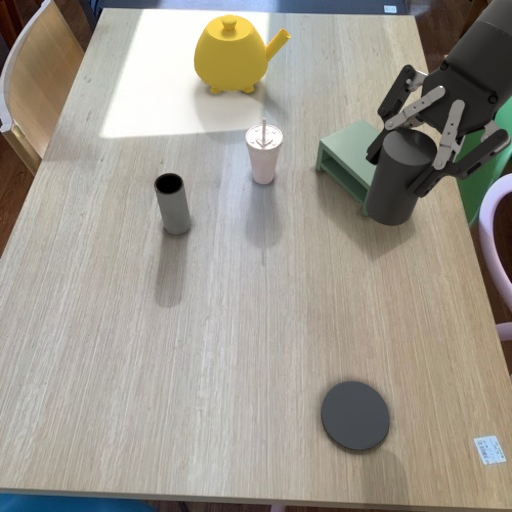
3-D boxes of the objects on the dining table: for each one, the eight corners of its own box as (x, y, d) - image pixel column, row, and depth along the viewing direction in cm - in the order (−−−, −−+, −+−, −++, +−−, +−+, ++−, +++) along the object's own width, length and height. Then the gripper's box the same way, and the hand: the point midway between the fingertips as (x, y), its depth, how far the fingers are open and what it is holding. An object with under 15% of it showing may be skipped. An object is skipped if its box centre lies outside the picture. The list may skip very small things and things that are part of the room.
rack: (407, 192, 86) (418, 164, 80) (365, 216, 82) (374, 189, 77) (355, 146, 92) (362, 118, 86) (315, 168, 89) (319, 139, 83)
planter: (173, 239, 80) (163, 199, 71) (159, 222, 82) (148, 180, 73) (196, 226, 81) (189, 185, 72) (182, 210, 83) (173, 168, 74)
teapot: (285, 56, 108) (288, -5, 97) (290, 101, 99) (295, 39, 88) (196, 58, 107) (190, -3, 96) (194, 103, 99) (187, 42, 87)
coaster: (401, 411, 64) (402, 410, 64) (364, 465, 60) (365, 465, 60) (346, 369, 67) (346, 368, 67) (307, 418, 63) (307, 417, 63)
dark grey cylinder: (420, 206, 58) (447, 144, 50) (396, 233, 56) (420, 173, 48) (381, 184, 60) (401, 121, 52) (356, 209, 58) (373, 148, 50)
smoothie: (243, 187, 86) (241, 127, 74) (248, 162, 89) (247, 101, 78) (278, 191, 85) (282, 131, 74) (282, 165, 89) (286, 104, 77)
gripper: (574, 94, 46) (446, 225, 52) (460, 26, 53) (359, 149, 59) (570, 63, 40) (426, 216, 46) (442, -9, 47) (331, 132, 53)
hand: (389, 178), depth 52 cm, fingers closed on dark grey cylinder, 5 cm apart
